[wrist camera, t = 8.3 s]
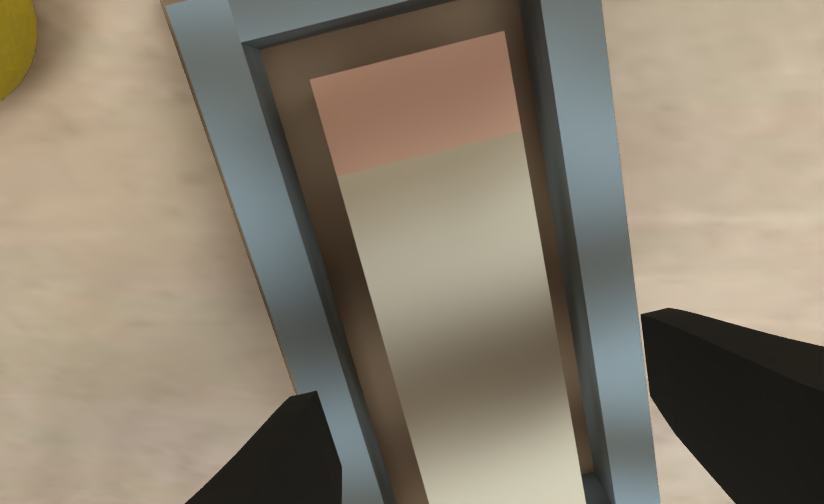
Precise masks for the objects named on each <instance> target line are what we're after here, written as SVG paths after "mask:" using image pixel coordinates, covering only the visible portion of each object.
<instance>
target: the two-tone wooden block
mask: <svg viewBox="0 0 824 504" xmlns="http://www.w3.org/2000/svg"><path fill="white" fill-rule="evenodd" d="M310 83H311V86H312V90H313V94H314V97H315V101H316V104H317V108H318V111H319V115H320V118H321V122H322V125H323V129H324V133H325V136H326V140H327V143H328V147H329V150H330V154H331V157H332V161H333V164H334V168H335V172H336V175H337V179H338V182H339V186H340V189H341V193H342V196H343V200H344V203H345V207H346V211H347V214H348V218H349V221H350V225H351V228H352V232H353V235H354V239H355V242H356V246H357V250H358V253H359V257H360V260H361V264H362V267H363V271H364V274H365V278H366V281H367V285H368V289H369V292H370V296H371V299H372V303H373V306H374V310H375V313H376V317H377V320H378V324H379V328H380V331H381V335H382V338H383V342H384V345H385V349H386V352H387V356H388V359H389V363H390V367H391V370H392V374H393V377H394V381H395V384H396V388H397V391H398V395H399V398H400V402H401V406H402V409H403V413H404V416H405V420H406V423H407V427H408V430H409V434H410V437H411V441H412V445H413V448H414V452H415V455H416V459H417V462H418V466H419V469H420V473H421V476H422V480H423V484H424V487H425V491H426V494H427V498H428V501H429V504H586V500H585V495H584V489H583V483H582V477H581V472H580V466H579V460H578V454H577V448H576V443H575V437H574V431H573V425H572V419H571V414H570V408H569V402H568V396H567V390H566V385H565V379H564V373H563V367H562V362H561V356H560V350H559V344H558V338H557V333H556V327H555V321H554V315H553V309H552V304H551V298H550V292H549V286H548V280H547V275H546V269H545V263H544V257H543V252H542V246H541V240H540V234H539V228H538V223H537V217H536V211H535V205H534V199H533V194H532V188H531V182H530V176H529V170H528V165H527V159H526V153H525V147H524V142H523V136H522V130H521V124H520V118H519V113H518V107H517V101H516V95H515V89H514V84H513V78H512V72H511V66H510V60H509V55H508V49H507V43H506V37H505V32H504V31H501V32H497V33H493V34H489V35H485V36H481V37H477V38H473V39H469V40H465V41H461V42H457V43H453V44H449V45H445V46H441V47H437V48H433V49H429V50H425V51H422V52H418V53H414V54H410V55H406V56H402V57H398V58H394V59H390V60H386V61H382V62H378V63H374V64H370V65H366V66H362V67H358V68H354V69H350V70H346V71H342V72H338V73H334V74H330V75H326V76H322V77H318V78H314V79H310Z"/></svg>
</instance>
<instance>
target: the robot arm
mask: <svg viewBox="0 0 824 504" xmlns="http://www.w3.org/2000/svg"><path fill="white" fill-rule="evenodd" d="M641 322H642V331H643V339H644V348H645V356H646V365H647V373H648V381H649V390H650V396H651V398H652V400H653V401H654V403H655V404H656V406H657V407H658V409H659V411H660V412H661V414H662V415H663V417H664V418H665V420H666V421H667V423H668V424H669V426H670V427H671V429H672V430H673V431H674V433H675V434H676V436H677V437H678V438H679V439H680V440H681V441H682V443H683V444H684V445H685V446H686V447H687V449H688V450H689V451H690V452H691V453H692V454H693V455H694V457H695V458H696V459H697V460H698V461H699V462H700V464H701V465H702V466H703V467H704V468H705V469H706V470H707V472H708V473H709V474H710V475H711V476H712V477H713V478H714V480H715V481H716V482H717V483H718V484H719V485H720V486H721V487H722V489H723V490H724V491H725V492H726V493H727V494H728V495H729V497H730V498H731V499H732V500H733V501H734V502H735V503H736V504H824V347H823V346H818V345H814V344H810V343H805V342H801V341H796V340H792V339H788V338H784V337H780V336H776V335H772V334H768V333H764V332H761V331H757V330H753V329H750V328H746V327H742V326H739V325H735V324H731V323H728V322H724V321H721V320H717V319H714V318H710V317H706V316H703V315H699V314H695V313H691V312H687V311H683V310H678V309H673V308H666V309H662V310H657V311H653V312H649V313H645V314H641ZM185 504H342V465H341V462H340V459H339V456H338V453H337V450H336V447H335V444H334V441H333V438H332V435H331V432H330V429H329V426H328V423H327V420H326V417H325V414H324V411H323V407H322V404H321V401H320V398H319V395H318V392H317V391H312V392H308V393H304V394H300V395H295V396H291V397H289V398H288V399H287V400H286V401H285V402H284V403H283V404H282V405H281V406H280V407H279V408H278V409H277V410H276V411H275V412H274V413H273V414H272V415H271V417H270V418H269V419H268V420H267V421H266V422H265V423H264V424H263V425H262V426H261V428H260V429H259V430H258V431H257V432H256V433H255V434H254V435H253V436H252V437H251V438H250V439H249V441H248V442H247V443H246V444H245V445H244V446H243V447H242V448H241V449H240V450H239V451H238V452H237V454H236V455H235V456H234V457H233V458H232V459H231V460H230V461H229V462H228V463H227V464H226V465H225V466H224V467H223V468H222V469H221V470H220V471H219V472H218V473H217V474H216V475H215V476H214V477H213V478H212V479H211V480H210V481H209V482H208V483H207V484H206V485H205V486H204V487H203V488H201V489H200V490H199V491H198V492H197V493H196V494H195V495H194V496H193V497H192V498H191V499H189V500H188V501H187V502H186V503H185Z"/></svg>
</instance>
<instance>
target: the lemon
mask: <svg viewBox="0 0 824 504" xmlns="http://www.w3.org/2000/svg"><path fill="white" fill-rule="evenodd" d="M36 45H37V19H36V15H35V11H34V7H33V3H32V0H0V102H1V101H2V100H3V99H4V98H5V97H6V96H8V95H9V94H10V93H11V92H12V91H13V90H14V89H16V88H17V87H18V86H19V85H20V83H21V81H22V80H23V78H24V76H25V75H26V73H27V71H28V70H29V68H30V66H31V64H32V61H33V57H34V53H35V49H36Z"/></svg>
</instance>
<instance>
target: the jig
mask: <svg viewBox="0 0 824 504" xmlns="http://www.w3.org/2000/svg"><path fill="white" fill-rule="evenodd" d="M160 2H161V5H162V8H163V11H164V14H165V16H166V19H167V22H168V25H169V28H170V31H171V34H172V37H173V40H174V43H175V45H176V48H177V51H178V54H179V57H180V60H181V63H182V66H183V69H184V72H185V74H186V77H187V80H188V83H189V86H190V89H191V92H192V95H193V98H194V100H195V103H196V106H197V109H198V112H199V115H200V118H201V121H202V124H203V127H204V129H205V132H206V135H207V138H208V141H209V144H210V147H211V150H212V153H213V155H214V158H215V161H216V164H217V167H218V170H219V173H220V176H221V179H222V182H223V184H224V187H225V190H226V193H227V196H228V199H229V202H230V205H231V208H232V210H233V213H234V216H235V219H236V222H237V225H238V228H239V231H240V234H241V237H242V239H243V242H244V245H245V248H246V251H247V254H248V257H249V260H250V263H251V265H252V268H253V271H254V274H255V277H256V280H257V283H258V286H259V289H260V292H261V294H262V297H263V300H264V303H265V306H266V309H267V312H268V315H269V318H270V320H271V323H272V326H273V329H274V332H275V335H276V338H277V341H278V344H279V347H280V349H281V352H282V355H283V358H284V361H285V364H286V367H287V370H288V373H289V375H290V378H291V381H292V384H293V387H294V390H295V393H296V395H300V394H304V393H308V392H312V391H317V392H318V395H319V398H320V401H321V404H322V407H323V411H324V414H325V417H326V420H327V423H328V426H329V429H330V432H331V435H332V438H333V441H334V444H335V447H336V450H337V453H338V456H339V459H340V462H341V465H342V504H429V501H428V498H427V494H426V491H425V487H424V484H423V480H422V476H421V473H420V469H419V466H418V462H417V459H416V455H415V452H414V448H413V445H412V441H411V437H410V434H409V430H408V427H407V423H406V420H405V416H404V413H403V409H402V406H401V402H400V398H399V395H398V391H397V388H396V384H395V381H394V377H393V374H392V370H391V367H390V363H389V359H388V356H387V352H386V349H385V345H384V342H383V338H382V335H381V331H380V328H379V324H378V320H377V317H376V313H375V310H374V306H373V303H372V299H371V296H370V292H369V289H368V285H367V281H366V278H365V274H364V271H363V267H362V264H361V260H360V257H359V253H358V250H357V246H356V242H355V239H354V235H353V232H352V228H351V225H350V221H349V218H348V214H347V211H346V207H345V203H344V200H343V196H342V193H341V189H340V186H339V182H338V179H337V175H336V172H335V168H334V164H333V161H332V157H331V154H330V150H329V147H328V143H327V140H326V136H325V133H324V129H323V125H322V122H321V118H320V115H319V111H318V108H317V104H316V101H315V97H314V94H313V90H312V86H311V83H310V79H314V78H318V77H322V76H326V75H330V74H334V73H338V72H342V71H346V70H350V69H354V68H358V67H362V66H366V65H370V64H374V63H378V62H382V61H386V60H390V59H394V58H398V57H402V56H406V55H410V54H414V53H418V52H422V51H425V50H429V49H433V48H437V47H441V46H445V45H449V44H453V43H457V42H461V41H465V40H469V39H473V38H477V37H481V36H485V35H489V34H493V33H497V32H501V31H504V32H505V37H506V43H507V49H508V55H509V60H510V66H511V72H512V78H513V84H514V89H515V95H516V101H517V107H518V113H519V118H520V124H521V130H522V136H523V142H524V147H525V153H526V159H527V165H528V170H529V176H530V182H531V188H532V194H533V199H534V205H535V211H536V217H537V223H538V228H539V234H540V240H541V246H542V252H543V257H544V263H545V269H546V275H547V280H548V286H549V292H550V298H551V304H552V309H553V315H554V321H555V327H556V333H557V338H558V344H559V350H560V356H561V362H562V367H563V373H564V379H565V385H566V390H567V396H568V402H569V408H570V414H571V419H572V425H573V431H574V437H575V443H576V448H577V454H578V460H579V466H580V472H581V477H582V483H583V489H584V495H585V500H586V504H660V495H659V487H658V478H657V470H656V461H655V453H654V445H653V436H652V428H651V419H650V411H649V402H648V394H647V385H646V377H645V368H644V360H643V351H642V343H641V334H640V326H639V317H638V309H637V300H636V292H635V283H634V275H633V266H632V258H631V250H630V241H629V233H628V224H627V216H626V207H625V199H624V190H623V182H622V173H621V165H620V156H619V148H618V139H617V131H616V122H615V114H614V105H613V97H612V88H611V80H610V71H609V63H608V55H607V46H606V38H605V29H604V21H603V12H602V4H601V0H160Z"/></svg>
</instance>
